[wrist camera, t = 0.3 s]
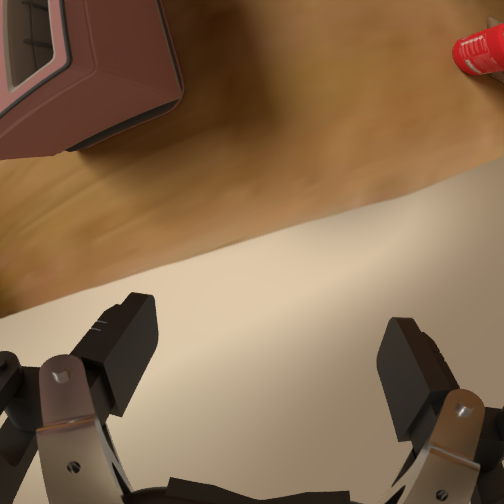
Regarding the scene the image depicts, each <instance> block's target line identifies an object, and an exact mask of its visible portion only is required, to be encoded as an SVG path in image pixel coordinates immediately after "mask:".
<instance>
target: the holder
mask: <svg viewBox="0 0 504 504" xmlns="http://www.w3.org/2000/svg"><path fill="white" fill-rule="evenodd" d="M487 24H488V28H491V27H494V26H497V25H500V24H503V23H502V22H500V21H498V20H497V19H495V18H493V17H492V16H489V17H487ZM488 75H489V76H491V77H493V78H495V79H497V80H498V81H500V82H502V83H504V71H499V72H492V73H488Z"/></svg>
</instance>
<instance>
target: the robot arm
mask: <svg viewBox="0 0 504 504" xmlns="http://www.w3.org/2000/svg"><path fill="white" fill-rule="evenodd" d="M157 344H158V324H157V316H156V307H155V299H154V297H153V295H148V294H141V293H134V292H132V293H130V294H129V295H128V297H127V298H126V299H125V300H124V302H123V303H122V304H121V305H119V304H116V305H114V306H113V307H111V308H109V309H107V310H106V311H104V313H103V314H102V315H101V316H100V317H99V319H98V320H97V322H95V323H94V325H93V326H92V327H91V329H89V331H88V332H87V333H86V335H85V336H84V337H83V338H82V339H81V341H80V342H79V343H78V344H77V346H76V347H75V348H74V350H73V351H72V352H71V353H70V354H69V355H67V354H65V355H58V356H54V357H52V358H50V359H48V360H47V361H46V362H45V363H43V365H42V366H41V367H26V366H25V367H24V366H21V365H20V362H19V360H18V358H17V356H16V355H15V354H14V353H12V352H9V351H1V352H0V415H1V414H2V412H3V411H5V413H6V414H7V416H8V417H7V419H6V420H5V422H4V424H3V425H2V427H1V428H0V504H12V503H13V501H14V498H15V496H16V494H17V491H18V489H19V487H20V485H21V483H22V481H23V479H24V477H25V474H26V472H27V470H28V468H29V466H30V464H31V462H32V460H33V458H34V456H35V454H36V452H37V450H38V451H39V457H40V463H41V468H42V474H43V479H44V483H45V487H46V492H47V497H48V500H49V504H362V503H358V502H354V501H350V494H349V491H337V492H305V493H300V494H296V495H290V496H285V497H279V498H273V499H267V500H257V499H252V498H250V497H246V496H243V495H240V494H237V493H234V492H231V491H228V490H226V489H223V488H220V487H217V486H215V485H209V484H203V483H198V482H192V481H187V480H182V479H177V478H173V477H170V479H169V483H168V486H167V487H152V488H146V489H141V490H137V491H133V489H132V486H131V484H130V482H129V481H128V478H127V477H126V474H125V472H124V470H123V468H122V465H121V462H120V460H119V457H118V455H117V452H116V449H115V446H114V444H113V441H112V438H111V435H110V432H109V429H108V426H107V424H106V420H107V418H108V416H109V414H112V415H115V416H119V417H122V416H123V414H124V412H125V410H126V408H127V406H128V403H129V401H130V399H131V397H132V395H133V393H134V391H135V389H136V387H137V385H138V383H139V381H140V379H141V377H142V375H143V373H144V371H145V369H146V367H147V365H148V363H149V361H150V359H151V357H152V355H153V354H154V352H155V350H156V347H157ZM377 370H378V374H379V377H380V380H381V383H382V386H383V390H384V393H385V396H386V399H387V403H388V406H389V410H390V413H391V417H392V420H393V424H394V427H395V431H396V435H397V439H398V442H402V441H411V442H412V445H413V446H412V447H411V449H410V450H409V451H408V454H407V455H406V457H405V459H404V461H403V463H402V464H401V466H400V468H399V470H398V472H397V474H396V475H395V477H394V479H393V480H392V482H391V484H390V485H389V487H388V489H387V490H386V492H385V493H384V494H383V496H382V497H381V498H380V500H379V501H378V502H377V503H376V504H469V502H471V504H504V468H503V465H502V461H503V460H504V406H503V408H502V409H498V408H490V407H484V404H483V402H482V400H481V399H480V398H479V397H478V396H477V395H476V394H474V393H473V392H471V391H469V390H465V389H460V387H459V385H458V384H457V381H456V380H455V378H454V376H453V374H452V372H451V370H450V369H449V366H448V365H447V363H446V362H445V361H444V357H443V356H442V354H441V353H440V350H439V349H438V347H437V345H436V344H435V342H434V341H433V340H432V339H431V338H430V337H429V336H428V335H427V334H426V333H424V332H421V331H420V329H419V327H418V326H417V324H416V322H415V321H414V319H412V318H401V317H399V318H398V317H392V318H391V319H390V320H389V322H388V325H387V328H386V331H385V334H384V337H383V340H382V343H381V345H380V348H379V351H378V355H377Z"/></svg>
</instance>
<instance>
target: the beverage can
mask: <svg viewBox="0 0 504 504" xmlns="http://www.w3.org/2000/svg"><path fill="white" fill-rule="evenodd" d="M452 55H453V59H454V61H455V63H456V65H457V66H458V67H459V68H460V69H461V70H462V71H463V72H465V73H468V74H470V75H481V74H486V73H492V72H499V71H504V23H503V24H500V25H497V26H494V27H491V28H488V29H486V30H483V31H480V32H478V33H475V34H472V35H470V36H467V37H465V38H462V39H460V40H458V41H457V42H456V43H455V45H454V47H453V50H452Z"/></svg>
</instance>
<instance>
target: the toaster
mask: <svg viewBox="0 0 504 504" xmlns="http://www.w3.org/2000/svg"><path fill="white" fill-rule="evenodd" d="M184 91H185V90H184V80H183V76H182V72H181V69H180V65H179V62H178V58H177V54H176V51H175V47H174V43H173V40H172V36H171V32H170V29H169V25H168V21H167V18H166V14H165V10H164V6H163V3H162V0H0V160H6V159H16V158H29V157H43V156H54V155H56V154H59V153H61V152H63V151H64V150H65V151H68V152H72V151H78V150H82V149H87V148H89V147H91V146H93V145H95V144H97V143H99V142H101V141H104V140H106V139H108V138H110V137H112V136H114V135H117V134H119V133H121V132H123V131H126V130H128V129H130V128H133V127H135V126H138V125H140V124H142V123H145V122H147V121H150V120H152V119H155V118H158V117H160V116H163V115H165V114H167V113H169V112H170V111H172V110H174V109H175V108H176V107H177V105H178V104H179V103H180V102H181V100H182V97H183V94H184Z"/></svg>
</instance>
